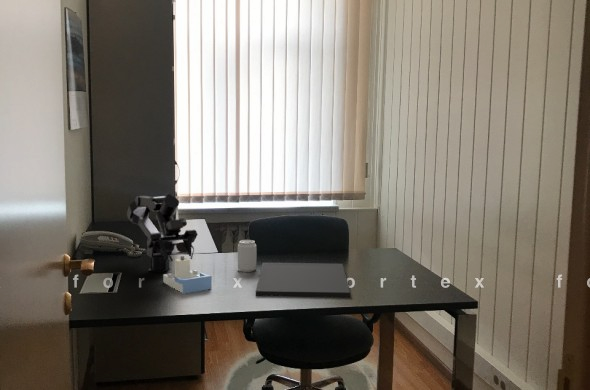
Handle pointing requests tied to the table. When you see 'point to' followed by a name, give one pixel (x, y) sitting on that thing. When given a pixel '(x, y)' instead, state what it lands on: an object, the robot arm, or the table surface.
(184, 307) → the table surface
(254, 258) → the can
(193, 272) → the sled frame
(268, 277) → the thin dark grey tray
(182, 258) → the beige drawer with knob
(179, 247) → the sunglasses
